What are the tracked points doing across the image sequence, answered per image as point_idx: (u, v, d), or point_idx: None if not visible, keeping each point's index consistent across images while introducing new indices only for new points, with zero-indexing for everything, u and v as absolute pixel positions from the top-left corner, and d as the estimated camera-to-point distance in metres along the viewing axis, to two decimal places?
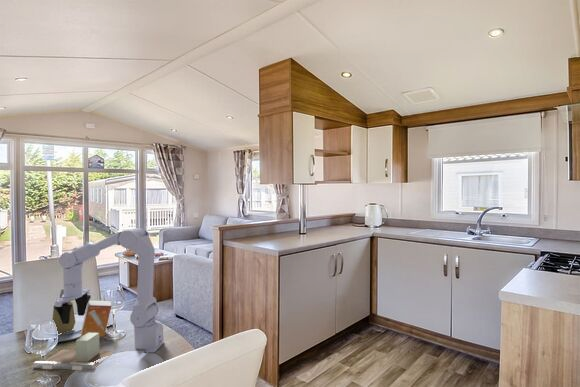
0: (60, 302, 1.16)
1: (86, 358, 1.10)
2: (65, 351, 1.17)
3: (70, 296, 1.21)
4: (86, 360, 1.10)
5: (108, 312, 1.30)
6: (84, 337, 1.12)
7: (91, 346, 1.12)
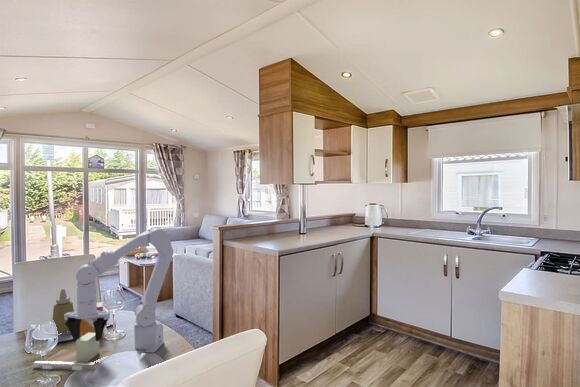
0: (65, 315, 1.12)
1: (86, 358, 1.10)
2: (65, 351, 1.17)
3: (77, 313, 1.12)
4: (86, 360, 1.10)
5: None
6: (84, 337, 1.12)
7: (91, 346, 1.12)
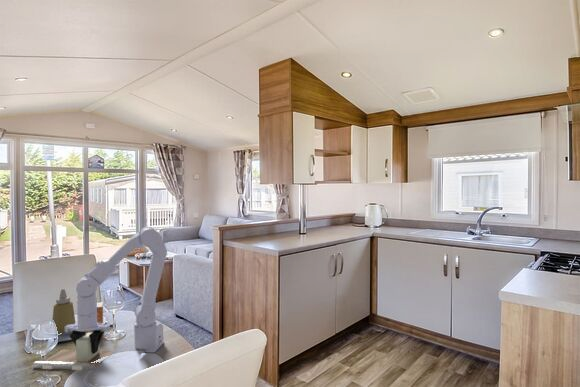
0: (65, 328, 1.12)
1: (86, 358, 1.10)
2: (65, 351, 1.17)
3: (77, 326, 1.12)
4: (86, 360, 1.10)
5: (101, 313, 1.29)
6: (84, 337, 1.12)
7: (91, 346, 1.12)
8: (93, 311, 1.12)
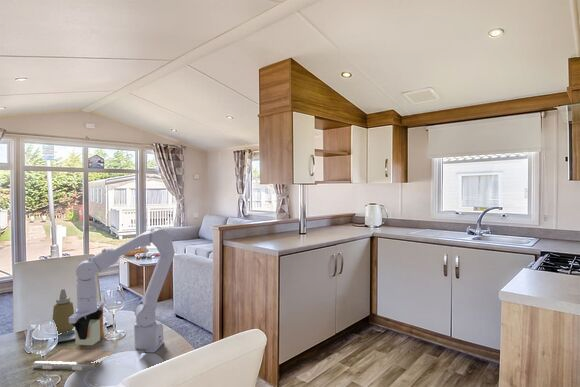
0: (75, 318, 1.06)
1: (99, 337, 1.14)
2: (65, 351, 1.17)
3: (85, 311, 1.10)
4: (99, 339, 1.14)
5: None
6: None
7: None
8: (93, 295, 1.12)
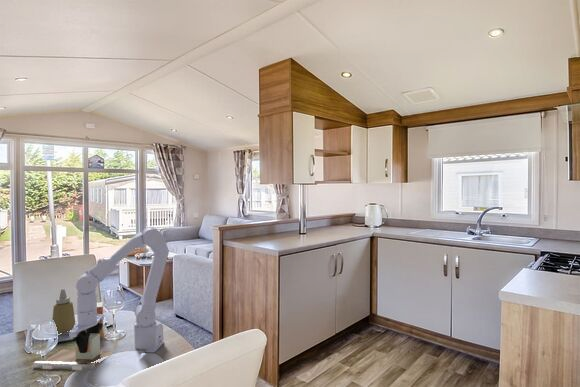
0: (75, 332, 1.06)
1: (99, 351, 1.14)
2: (65, 351, 1.17)
3: (85, 325, 1.10)
4: (99, 353, 1.14)
5: (101, 313, 1.29)
6: None
7: None
8: (93, 308, 1.12)
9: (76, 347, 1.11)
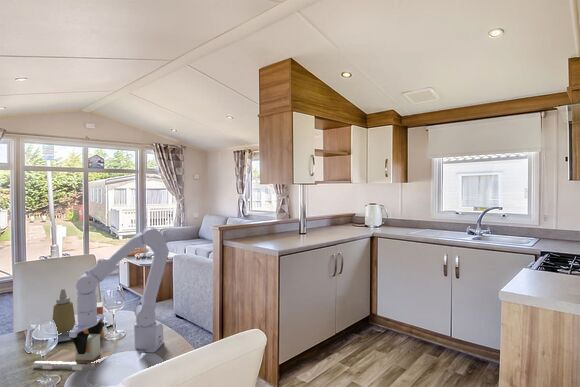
0: (75, 332, 1.06)
1: (99, 351, 1.14)
2: (65, 351, 1.17)
3: (85, 325, 1.10)
4: (99, 353, 1.14)
5: (101, 313, 1.29)
6: (88, 337, 1.12)
7: None
8: (93, 308, 1.12)
9: None
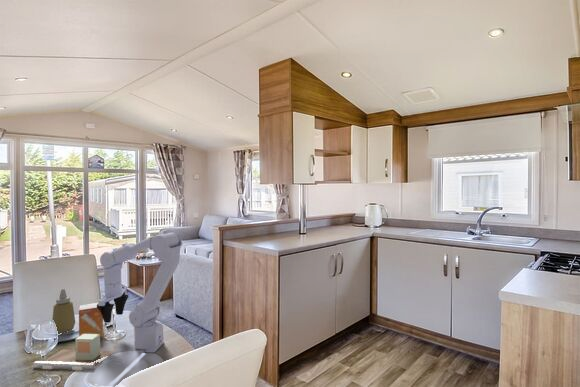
0: (103, 301, 1.19)
1: (99, 351, 1.14)
2: (65, 351, 1.17)
3: (111, 295, 1.23)
4: (99, 353, 1.14)
5: None
6: (88, 337, 1.12)
7: None
8: (112, 282, 1.23)
9: (76, 348, 1.11)
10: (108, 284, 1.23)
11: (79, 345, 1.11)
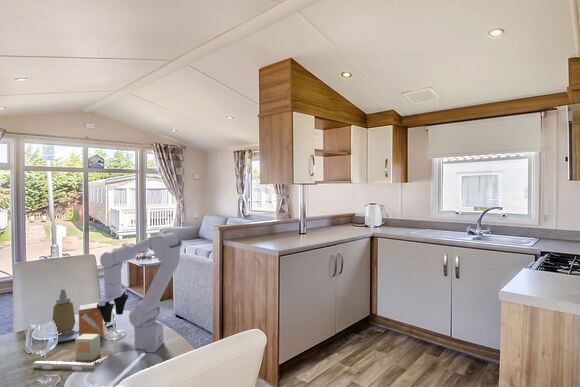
0: (103, 301, 1.19)
1: (99, 351, 1.14)
2: (65, 351, 1.17)
3: (111, 295, 1.23)
4: (99, 353, 1.14)
5: None
6: (88, 337, 1.12)
7: None
8: (112, 282, 1.23)
9: (76, 348, 1.11)
10: (108, 284, 1.23)
11: (79, 345, 1.11)
